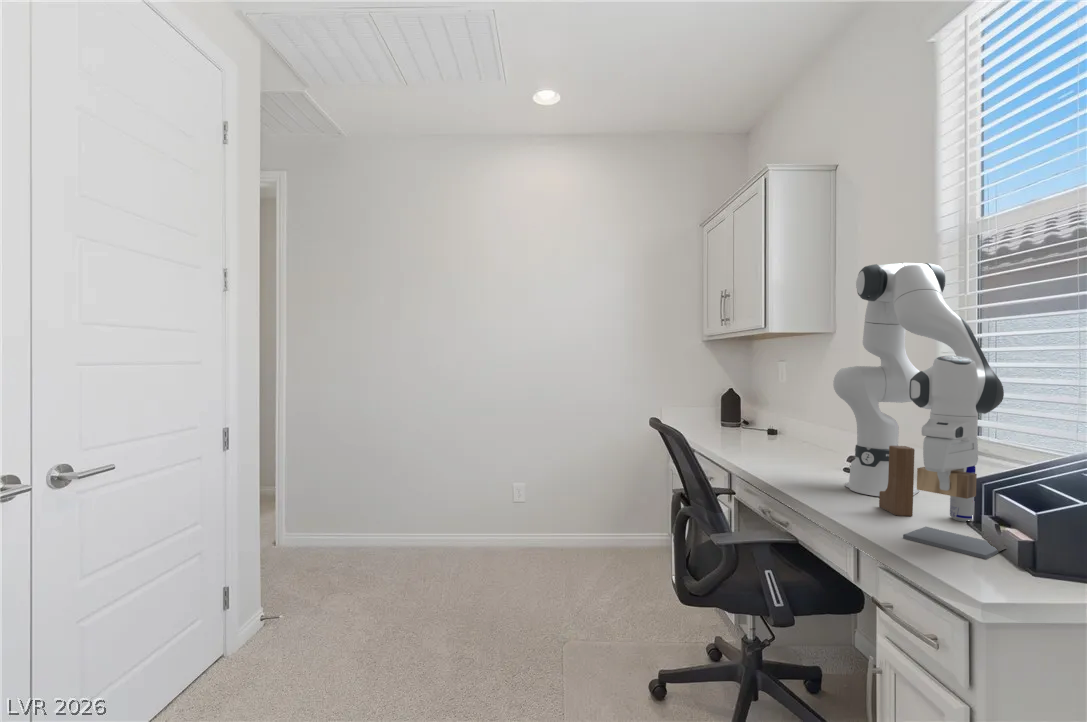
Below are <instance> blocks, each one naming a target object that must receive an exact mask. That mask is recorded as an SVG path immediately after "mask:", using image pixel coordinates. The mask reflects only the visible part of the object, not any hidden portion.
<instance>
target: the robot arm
mask: <svg viewBox="0 0 1087 722" xmlns="http://www.w3.org/2000/svg"><path fill="white" fill-rule="evenodd" d="M855 286H856V287H855V288H856V292H857V295H858V296H859V298H860V299H862V300H865V301H867V305H866V310H865V315H864V325H863V332H862V333H863V336H862V345H863V347H864V350H866V352H869V354H872V355H873V356H876V357H877V358H879V360H880V366H870V365H869V366H868V365H867V366H865V365H861V366H860V365H856V366H849V367H844V368H840V369H839V370H838V371H837V372H836V374H834V377H833V380H832V381H833V384H832V385H833V390H834V392H835V393H836V395H837V396H838V397H839V398H840V399H842V400H843V401H844V402H845V403H847V405H848V406H849V407H850V409H851V410H852V412H853V415H854V417H855V420H856V421H855V422H856V435H857V438H856V444H855V448H854V456H855V458H854V459H853V460H852V461H851V463H850V468H849V469H850V470H849V479H848V482H845V483H844V486H845V487H846V488H849V490H850V491H852V492H856V493H858V494H862V495H869V496H871V497H872V496H874V497H879V493H880V491H885V490H886V489H887V486H888V473H889V446H899V436H900V435H899V433H900V431H899V430H900V429H899V428H900V427H899V423H898V421H896V419H895V418H893V417H892V416H890V415H889V414H886V413H884V412H883V411H881V409H880V405H879V403H897V404H898V403H899V404H900V403H902V404H903V403H904V404H905V403H911V402H913V404H915V405H916V406H917V407H918V408H921V409H925V410H930V414H929V419H928V420H927V422H926V423H925V424H923V425H922V427H921V436H923V437H924V439H923V441H922V442H923V443H922V448H923V449H922V450H923V451H922V452H923V453H922V454H923V457H922V458H923V465H924V466H923V467H925V468H926V470H928V471H933V472H937V475H938V478H939V481H940V489H941V490H946V491H948V490H951V482H950V477H949V475H950V472H951V471H952V470H955V471H961V472H966V467H970V466H974V465H975V466H976V465H977V464H978V461H979V443H978V420H979V419H978V416H979V415H978V414H984V415H986V414H988V413H989V412H991V411H993V410H995V409H996V408H997V407H999V406H1000V404H1002V402H1003V401H1004V393H1005V392H1004V386H1003V384H1002V381H1001V380H1000V377H999V376H998V375H997V374H996V373H995V372H994V370H993V369H992V367H991V366H990V364H989V362H988V360H987V358H986V356H985V354H984V351H983V350H982V348H981V346H980V344H979V342H978V339H977V338H976V336H975V334H974V333H973V330H972V329H971V327H970V325H969V323H968V322H967V320H966V319H965V318H964V317H962V316H960V315H959V314H957V313H956V312H954V311H953V309H951V307H950V306H949V305H948V304H947V302H946V300H945V299H944V296H943V292H944V290H945V286H946V273H945V271H944V269H943V268H942V267H941V266H940V265H937V264H933V263H928V262H925V263H917V262H916V263H915V262H900V263H887V264H877V263H876V264H869V265H866V266H864V267H863V268H861V269H860V270H859V272H858V274H857V278H856V281H855ZM907 332H910V333H911V334H914V335H917V336H921V337H925V338H929V339H932V340H935V341H938V342H940V343H942V344H944V345H946V346H948V347H949V348H950V349H951V350H953V352H954V354H955V355H942V356H938V357H936V358H935V359H933V363H932V364H933V365H931V367H929V368H927V369H925V370H919V369H918V368H917V367H915V366H914V364H913V363H912V362H911V360H910V359H909V356H908V354H907V350H906V334H907ZM919 492H920V490H917V486H913V496H915V495H917V494H918V493H919Z"/></svg>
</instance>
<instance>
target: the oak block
mask: <svg viewBox="0 0 1087 722" xmlns="http://www.w3.org/2000/svg"><path fill="white" fill-rule="evenodd" d="M916 471H917V472H916V473H917V474H916V487H917V490H919V491H923V492H929V493H933V494H939V495H945V496H949V497H950V496H955V497H960V498H966V499H968V498H971V497H977V473H975V474H974V473H968V472H961V471H955V470H952V471H951V472H950V475H949V477H950V482H951V490H948V491H946V490H941V489H940V481H939V478H938V475H937V472H933V471H928V470H926V468H925V466H921V467H917V470H916Z"/></svg>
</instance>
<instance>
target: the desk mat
mask: <svg viewBox="0 0 1087 722" xmlns="http://www.w3.org/2000/svg"><path fill="white" fill-rule="evenodd" d="M902 538H903V539H906V540H910V541H913V542H916V543H917V542H918V543H920V544H924V545H929V546H934V547H937V548H941V549H945V550H948V551H952V552H956V553H960V554H964V555H968V556H973V557H976V558H979V559H980V558H981V559H984V560H987V559H989V558H991V557H993V556H995V554H996V555H997V553H998V550H997V549H996V548H995V547H993V546H991V545H990V544H989V543H988V542H987V541H988V540H985V539H982V538H977V537H973V536H968V535H965V534H959V533H957V532H956V533H955V532H952V531H948V530H942V529H938V528H933V527H930V526H923V527H921V528H918V529H915V530H912V531H910V532H906V533H903V534H902ZM998 554H999V553H998Z"/></svg>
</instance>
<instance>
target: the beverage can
mask: <svg viewBox="0 0 1087 722" xmlns="http://www.w3.org/2000/svg"><path fill="white" fill-rule="evenodd" d="M966 472H968V473H974V474H976V465H974V466H970V467H966ZM949 497H950V498H949V500H950V501H949V516H950V517H951V518H952V519H953V520H954V521H958V522H964V523H965V522H966V521H968V520H971V521H973V520H972V515H973V497H971V498H968V499H966V498H960V497H955V496H949ZM966 523H967V522H966Z"/></svg>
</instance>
